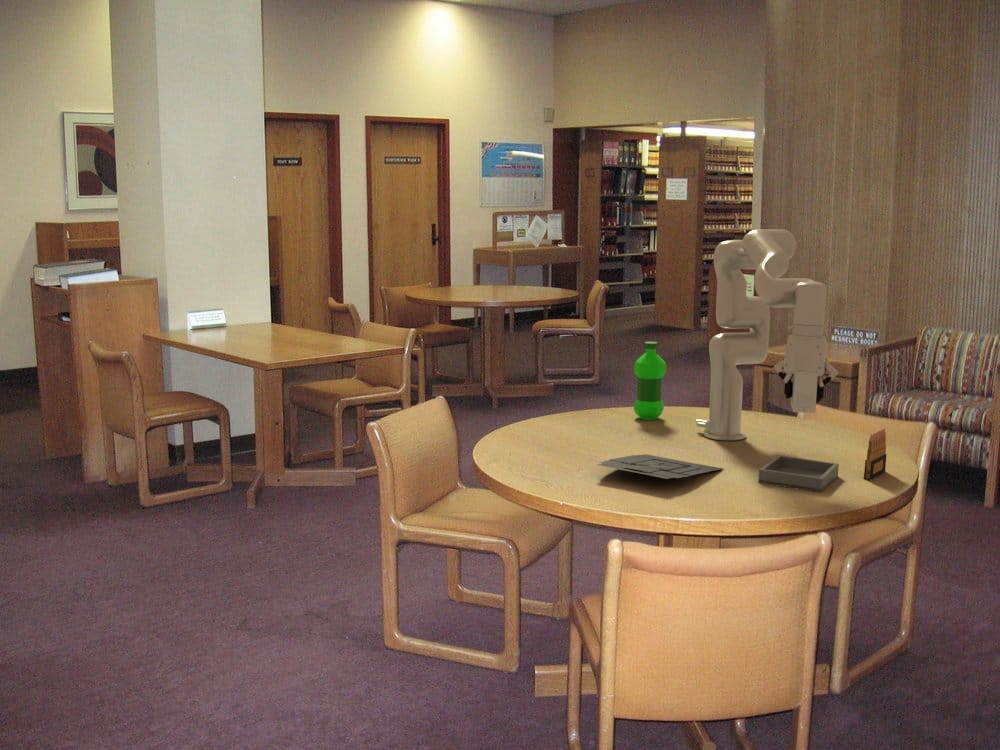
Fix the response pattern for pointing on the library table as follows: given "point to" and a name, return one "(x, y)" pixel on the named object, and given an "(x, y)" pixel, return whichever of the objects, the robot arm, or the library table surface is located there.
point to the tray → (798, 473)
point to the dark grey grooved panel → (657, 466)
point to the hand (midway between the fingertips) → (803, 398)
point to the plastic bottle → (649, 383)
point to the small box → (804, 392)
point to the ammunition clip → (876, 455)
